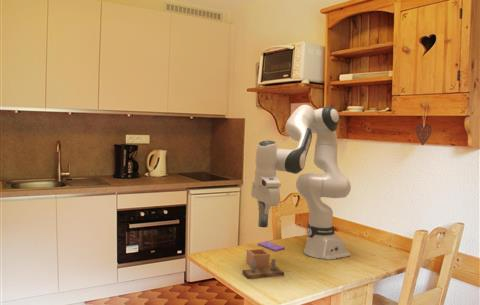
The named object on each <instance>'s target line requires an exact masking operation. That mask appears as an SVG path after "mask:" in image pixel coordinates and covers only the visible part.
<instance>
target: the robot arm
mask: <svg viewBox="0 0 480 305" xmlns="http://www.w3.org/2000/svg"><path fill="white" fill-rule="evenodd" d="M339 122H340V114H339V112H338V110H337V108H335V107H334V106H325V107H321V108H317V109H314V108H313V107H312V106H311V105H309V104H302V105H300V106H298V107H297V108H296V109H295V110H293V112H292V113H291V115H290V116H289V117H288V118H287V121H286V123H285V132H286V134H287V136H289V137H290V138H291V139H292V140H294V141H297V142H298V143H297V146H296V148H294V149H290V148H289V149H288V148H287V149H286V148H279V147H278V146H277V142H276V141H274V140H262V141H260V142H258V144H257V147H256V151H255V152H256V153H255V170H254V180H253V182H252V184H251V197H252V198H254V199H255V200H257V206H258V211H259V203H260V202H263V203H265V209H264V213H265V214H268V215H269V214H270V208H271V207H277V206H278V205H279V203H280V194H281V192H280V187H281V184H282V182H281V180H279V178H278V177H277V172H279V171H280V172H284V173H285V172H286V173H291V174H299V173H301V172H302V171H303V170H304V168H305V165H306V162H307V161H306V160H307V156H308V153H309V149H310V147H311V143H312V137H313V134H316V139H315V146H314V156H313V163H314V165H315V166H316V167H317V168H318V169H320V170H322V171H323V172H324V174H323V173H310V172H309V173H302V174H299V175H298V177H297V178H296V181H295V187H296V190H297V192H298V193H299V194H300V195H301V196H302V197H303V198H304V200H305V201H306V204H307V206H308V215H309V217H308V223H307V229H306V230H307V233H306V234H307V239H306V242H305V246H304V250H303V253H304V254H305V255H306V256H309V257H312V258H317V259H322V260H327V261H330V260H335V259H336V258H337V259H342V258H347V256H348V257H351V253H350V252H349V250H346V243H345V241H344V240H343V239H341V237H340V236H338V234H336V233H338V232H339V231H340V228H339V227H337V226H333V216H334V214H333V210H332V208H331V207H330V206H329V205H328V204H326V203H324V202H323V201H322V200H321V198H329V199H330V198H331V199H342V198H346V197H347V196H348V195H349V194H350V192H351V190H352V189H351V188H352V185H351V182H350V180H349V178H348V177H346V176H345V175H344V174H343V173H342V171H341V170H340V169H339V165H338V147H339V146H338V136H337V132H336V130H337V129H338V126H339ZM341 257H342V258H341ZM337 259H336V260H337Z"/></svg>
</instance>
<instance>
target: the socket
mask: <svg viewBox="0 0 480 305" xmlns="http://www.w3.org/2000/svg"><path fill="white" fill-rule="evenodd" d="M270 257H271V254H270V253H269V252H268V251H266V250H265V248H264V249H263V248H254V249H253V248H251V249H246V258H245V259H246V265H247V266H249V267H250V268H251V262H252V260H255V261H256V269H260V268H270V261H271V260H270V259H271V258H270Z"/></svg>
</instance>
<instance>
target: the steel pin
mask: <svg viewBox="0 0 480 305" xmlns="http://www.w3.org/2000/svg"><path fill="white" fill-rule="evenodd" d="M264 209H265V203H263V202H260V203H259V210H258V221H257V224H258V227H260V228H268V227H269V226H268V225H269V214H265V213H264Z"/></svg>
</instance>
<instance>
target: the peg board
mask: <svg viewBox="0 0 480 305" xmlns="http://www.w3.org/2000/svg"><path fill="white" fill-rule="evenodd" d="M276 265H277V259H276V258H272V259H271V264H270V266H271V267H269V268H260V269H256V261H255V260H252V262H251V267H250V268H249V269H242V271H241V272H242V273H241V274H242V275H243V276H244V277H245V278H246V279H247V280H253V279H262V278H271V277H272V278H273V277H274V278H275V277H283V276H285V271H283V270H282V269H281V268H280V267H278V266H276Z"/></svg>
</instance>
